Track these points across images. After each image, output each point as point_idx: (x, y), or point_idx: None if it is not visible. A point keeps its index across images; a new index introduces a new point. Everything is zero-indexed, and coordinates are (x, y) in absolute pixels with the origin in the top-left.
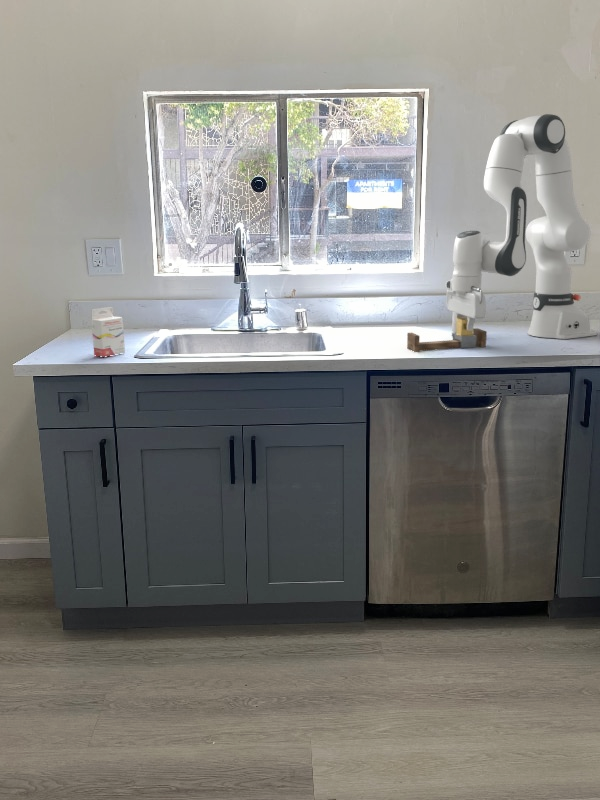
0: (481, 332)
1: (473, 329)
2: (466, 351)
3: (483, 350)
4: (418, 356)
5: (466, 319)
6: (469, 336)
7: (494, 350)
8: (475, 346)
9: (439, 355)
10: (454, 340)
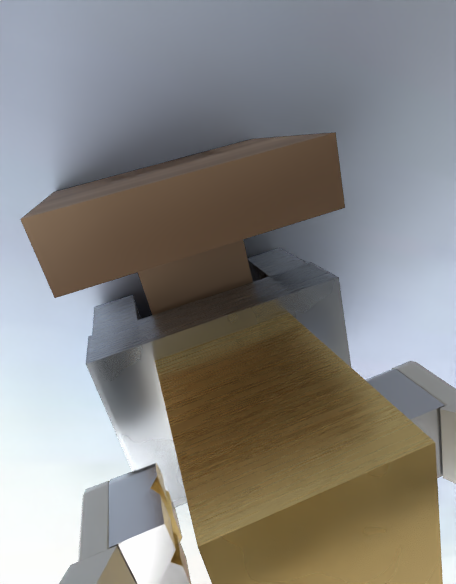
0: (316, 210)
1: (65, 290)
2: (389, 336)
3: (384, 198)
4: (444, 577)
5: (435, 555)
6: (347, 354)
7: (405, 95)
8: (281, 251)
9: (452, 490)
10: None
